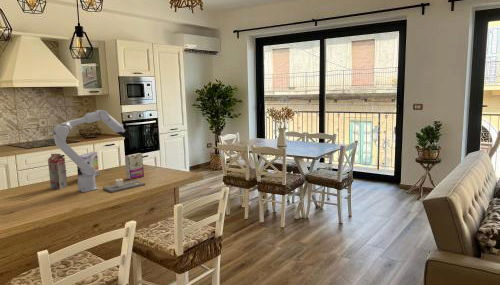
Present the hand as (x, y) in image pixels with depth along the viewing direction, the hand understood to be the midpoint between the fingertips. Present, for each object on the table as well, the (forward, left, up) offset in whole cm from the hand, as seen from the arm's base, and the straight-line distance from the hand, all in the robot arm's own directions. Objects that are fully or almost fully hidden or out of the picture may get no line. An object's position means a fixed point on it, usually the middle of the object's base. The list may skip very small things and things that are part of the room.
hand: (128, 137), depth 235 cm
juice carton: (-38, +22, -30) cm, 53 cm away
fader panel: (-10, -10, -30) cm, 33 cm away
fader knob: (-13, -10, -28) cm, 33 cm away
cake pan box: (-16, +31, -30) cm, 46 cm away
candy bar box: (+7, +8, -30) cm, 32 cm away
